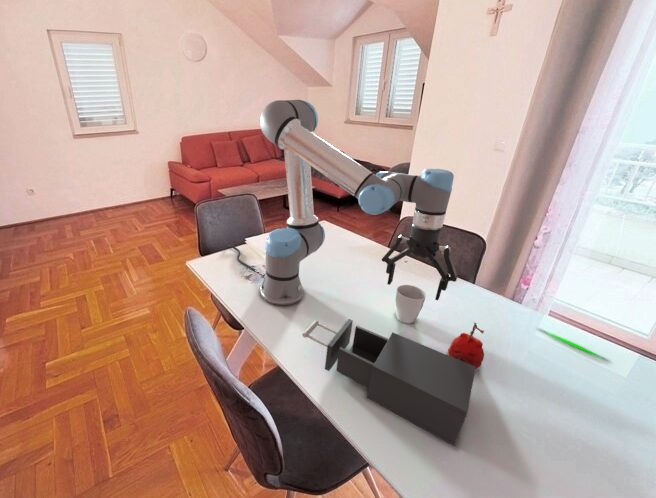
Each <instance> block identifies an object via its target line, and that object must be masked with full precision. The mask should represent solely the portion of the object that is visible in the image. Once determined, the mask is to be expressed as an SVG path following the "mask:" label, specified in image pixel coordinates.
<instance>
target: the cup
mask: <svg viewBox="0 0 656 498" xmlns="http://www.w3.org/2000/svg"><path fill="white" fill-rule="evenodd" d="M426 298H427V294H426V292H425V291H424V290H423V289H422V288H420V287H418V286H415V285H411V284H401V285H399V286H397V288H396V294H395V314H396V318H397V320H398V321H400V322H401V323H403V324H412V323H414V322H415V321H416V319H417V318H418V317H419V314H420V313H421V310H422V309H423V306H424V303H425V300H426Z"/></svg>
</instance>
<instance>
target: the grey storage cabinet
mask: <svg viewBox="0 0 656 498" xmlns="http://www.w3.org/2000/svg"><path fill="white" fill-rule="evenodd" d="M387 339H388V341H387V343H386V344H385V346H384V348H383V350H382V351H381V353H380V355H379V357H378V358H377V360H376V362H375V364H374V365H373V369H372V374H371V380H370V385H369V388H368V390H367V395H366V398H367V399H369V400H370V401H372V402H374V403H376V404H378V405H379V406H381V407H383V408H385V409H386V410H388V411H390V412H392V413H393V414H396V415H397V416H399V417H401V418H403V419H405V420H407V421H408V422H410V423H412V424H413V425H415V426H417V427H419V428H421V429H422V430H424V431H426V432H428V433H430V434H432V435H433V436H435V437H437V438H439V439H440V440H442V441H444V442H445V443H447V444H449V445H451V446H452V447H455V445H456V443H457V440H458V437H459V435H460V433H461V430H462V427H463V424H464V423H465V420H466V417H467V414H468V411H469V406H470V401H471V397H472V389H473V385H474V379H475V375H476V370H477V369H476V367H475V366H472V365H470V364H468V363H465V362H463V361H460V360H458V359H456V358H453V357H451V356H449V355H448V354H445V353H444V352H441V351H439V350H436V349H434V348H432V347H429V346H427V345H424V344H422V343H420V342H417V341H414V340H412V339H411V338H407V337H405V336H403V335H400V334H398V333H395V332H391V334H390V336H389V337H388V338H387ZM475 369H476V370H475Z"/></svg>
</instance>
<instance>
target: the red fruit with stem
mask: <svg viewBox="0 0 656 498" xmlns="http://www.w3.org/2000/svg"><path fill="white" fill-rule="evenodd" d="M475 330H476V331H477V330H478V331H479V332H480V333H481V334H484V333H485V330H483V329H480V328H479V327H478V325H477V322H473V326H472V330H470V332H469V333H465V332H462V333H460V334H459V335H458V336H457V337H455V338H454V339H453V340H452V341H451V343H450V345H449V347H448V350H447V355H448V356H451V357H453V358H456V359H458V360H460V361H463V362H465V363H468V364H470V365H472V366H475V367H476V369H475V371H476V370H477V369H479V368H481V366H482V364H483V361H484V358H485V352H484V348H483V342H482V341H481V340H480V339H478V338H476V337H475V336H473V335H474V334H475Z"/></svg>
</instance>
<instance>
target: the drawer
mask: <svg viewBox="0 0 656 498" xmlns="http://www.w3.org/2000/svg"><path fill="white" fill-rule="evenodd" d="M353 322H354V320H353V319H351V318H348V319H347V320H346V321H345V322H344V324H343V325H342V327H340V329H339V330H336V329H334V328H331V327H329V326H327V325H325V324H322V323H320V322H319V320H317V319H315V320H314V321H313V322H312V323H311V324H309V326H308V327H307V328H306V329H305V330H304V331H303V332H302V337H303V338H307V339H310V340H313V341H314V342H316V343H318V344H320V345H321V346H324V347H326V355H325V363H324V370H326V371H327V372H330V371H331V369H332V368H333V366H334V365H335V364H336V371H335V372H337V373H340V374H341V375H343V376H345V377H347V378H349V379H351V380H352V381H354V382H356V383H357V384H358V383H359V384H360V385H361V386H364V387H365V388H367V389H369V385H370V380H371V374H372V369H373V365H374V364H375V362H376V360H377V358H378V357H379V355H380V353H381V351H382V350H383V348H384V346H385V344H386V343H387V341H388V339H389V338H387V337H385V336H383V335H380V334H378V333H376V332H373V331H371V330H369V329H366V328H364V327H362V326H359V325H356V326H355V328H354V335H353V341H352V345H351V347H350V349H349V350H347V349H346V348H347V347H348V346H349V344H350V342H351V335H352V328H353ZM317 326H318V327H320V328H322V329H325V330H327V331H328V332H331V333H333V334H335V335H334V336H333V337H332V339H331V340H330V341H329V343H327V342H325V341H323V340H321V339H319V338H317V337H315V336H312V335H311V333H313V331H314V330H315V329H316V328H317Z"/></svg>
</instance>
